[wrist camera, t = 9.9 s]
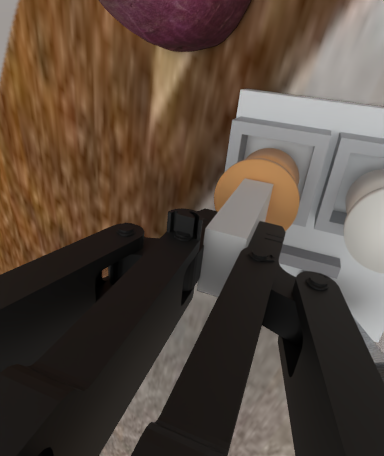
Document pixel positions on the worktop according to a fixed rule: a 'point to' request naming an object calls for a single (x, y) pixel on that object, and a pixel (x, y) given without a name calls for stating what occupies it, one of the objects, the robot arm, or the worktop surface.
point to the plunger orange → (269, 173)
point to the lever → (373, 350)
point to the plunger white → (366, 220)
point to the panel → (319, 183)
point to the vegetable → (179, 21)
